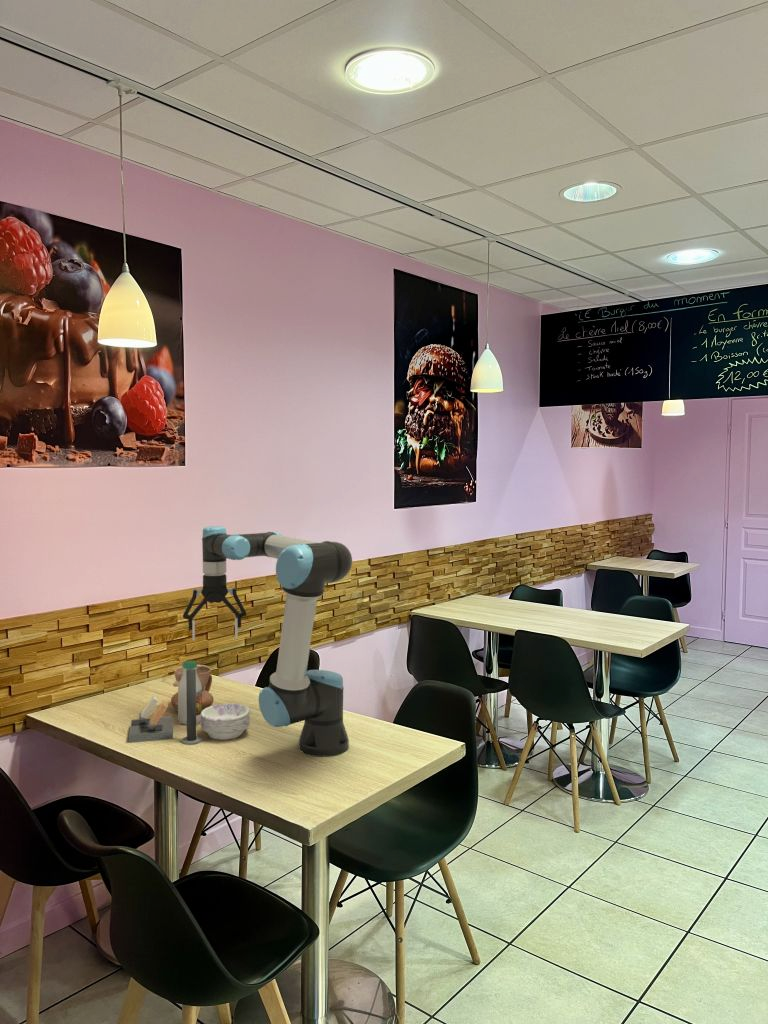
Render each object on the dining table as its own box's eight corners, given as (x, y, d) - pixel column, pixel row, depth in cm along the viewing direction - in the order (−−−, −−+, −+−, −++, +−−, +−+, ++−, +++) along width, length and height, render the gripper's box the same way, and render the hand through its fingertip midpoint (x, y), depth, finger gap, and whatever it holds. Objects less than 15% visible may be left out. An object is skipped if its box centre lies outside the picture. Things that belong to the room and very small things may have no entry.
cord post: (202, 743, 232) (201, 672, 230) (181, 745, 230) (181, 673, 229) (201, 736, 238) (200, 666, 236) (181, 738, 236) (180, 668, 235)
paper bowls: (200, 745, 231) (200, 720, 230) (201, 728, 245) (200, 704, 245) (251, 741, 234) (251, 716, 234) (248, 725, 249) (248, 701, 248)
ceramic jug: (189, 719, 254) (190, 677, 253) (158, 711, 261) (159, 670, 260) (226, 705, 269) (227, 666, 268) (196, 698, 276) (197, 660, 276)
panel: (173, 738, 236) (173, 730, 236) (129, 742, 232) (129, 734, 232) (173, 723, 249) (173, 716, 249) (131, 727, 246) (131, 719, 246)
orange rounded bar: (152, 731, 236) (168, 707, 237) (146, 728, 235) (162, 704, 236) (152, 726, 240) (168, 703, 241) (147, 723, 240) (162, 700, 240)
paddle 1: (142, 724, 242) (158, 701, 242) (137, 721, 241) (153, 698, 242) (143, 719, 246) (158, 697, 247) (138, 716, 246) (153, 694, 246)
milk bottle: (177, 726, 247) (176, 665, 246) (178, 718, 255) (178, 659, 253) (201, 724, 249) (201, 664, 247) (202, 716, 256) (202, 658, 255)
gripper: (252, 571, 253) (253, 634, 254) (175, 573, 247) (176, 637, 249) (254, 574, 246) (254, 639, 247) (174, 576, 240) (175, 642, 241)
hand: (215, 638), depth 248 cm, fingers open, 13 cm apart
